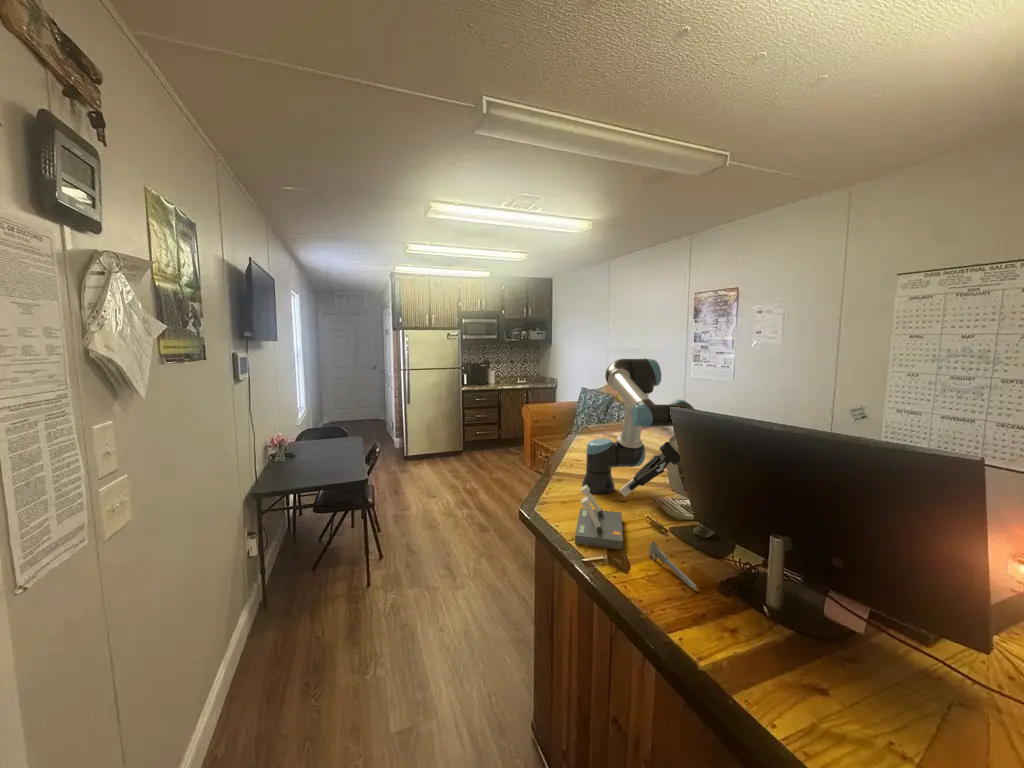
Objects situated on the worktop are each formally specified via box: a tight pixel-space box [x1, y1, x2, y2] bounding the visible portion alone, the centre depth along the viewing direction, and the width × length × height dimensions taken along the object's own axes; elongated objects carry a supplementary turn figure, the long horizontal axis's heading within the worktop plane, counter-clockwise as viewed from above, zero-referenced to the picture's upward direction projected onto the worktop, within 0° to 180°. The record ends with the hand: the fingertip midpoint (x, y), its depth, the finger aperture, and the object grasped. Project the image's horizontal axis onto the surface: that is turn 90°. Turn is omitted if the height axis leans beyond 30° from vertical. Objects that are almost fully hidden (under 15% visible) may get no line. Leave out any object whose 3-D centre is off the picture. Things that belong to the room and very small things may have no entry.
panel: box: [574, 507, 624, 550], centre depth 151 cm, size 24×16×3 cm, turn 166°
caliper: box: [648, 540, 699, 591], centre depth 123 cm, size 20×1×6 cm, turn 21°
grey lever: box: [580, 496, 602, 533], centre depth 144 cm, size 4×2×12 cm, turn 166°
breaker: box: [580, 485, 604, 517], centre depth 158 cm, size 4×2×12 cm
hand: (622, 493), depth 141 cm, fingers closed
